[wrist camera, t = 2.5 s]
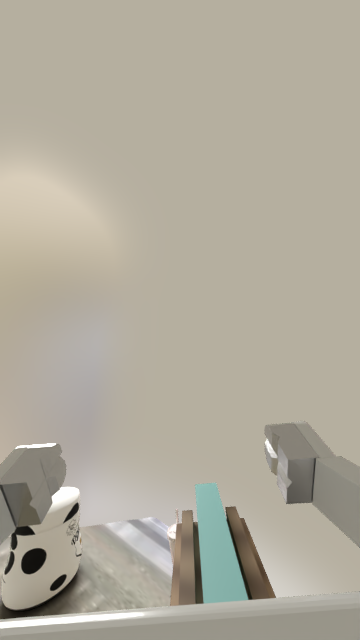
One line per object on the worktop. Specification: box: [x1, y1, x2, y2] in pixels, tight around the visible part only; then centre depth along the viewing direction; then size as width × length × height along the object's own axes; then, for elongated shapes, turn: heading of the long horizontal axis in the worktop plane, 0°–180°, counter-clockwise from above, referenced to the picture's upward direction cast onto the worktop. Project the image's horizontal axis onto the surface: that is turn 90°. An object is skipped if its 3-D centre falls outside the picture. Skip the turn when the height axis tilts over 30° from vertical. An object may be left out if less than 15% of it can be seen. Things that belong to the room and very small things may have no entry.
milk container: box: [1, 487, 82, 611], centre depth 56 cm, size 17×17×18 cm
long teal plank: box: [195, 483, 248, 603], centre depth 22 cm, size 26×4×4 cm, turn 178°
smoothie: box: [167, 508, 179, 564], centre depth 53 cm, size 6×6×14 cm
